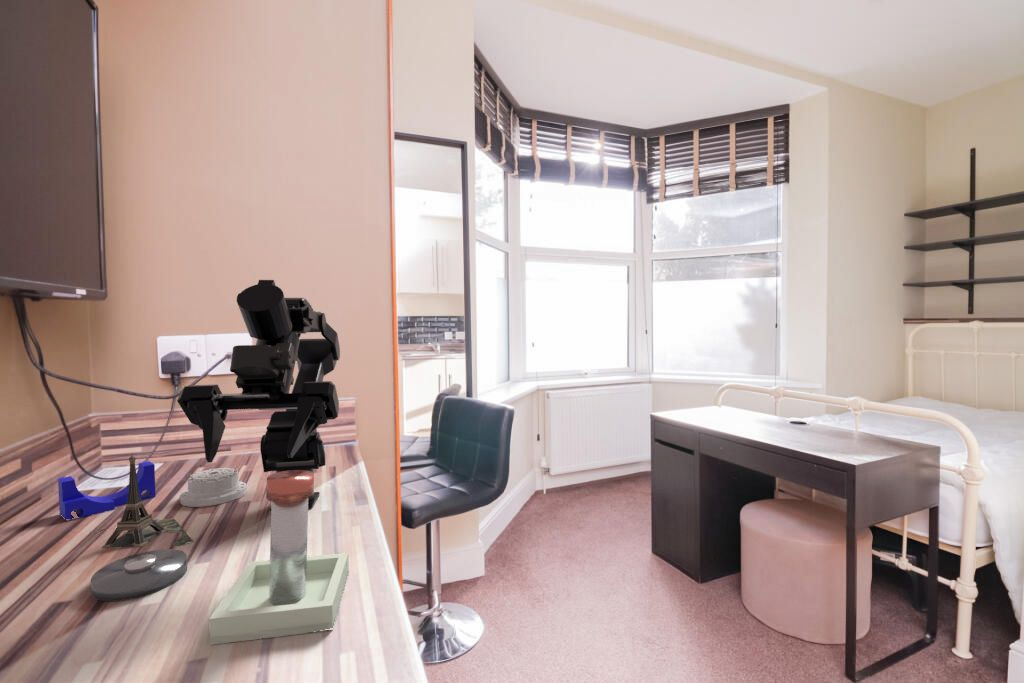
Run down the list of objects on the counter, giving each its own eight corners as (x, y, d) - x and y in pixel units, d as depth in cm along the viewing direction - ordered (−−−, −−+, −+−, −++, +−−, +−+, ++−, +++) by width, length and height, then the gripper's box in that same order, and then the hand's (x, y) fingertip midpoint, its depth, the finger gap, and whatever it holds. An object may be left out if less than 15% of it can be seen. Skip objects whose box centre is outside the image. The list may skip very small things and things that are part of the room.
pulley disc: (121, 564, 61) (120, 546, 61) (200, 557, 62) (199, 540, 62) (70, 605, 52) (69, 584, 52) (164, 596, 54) (163, 575, 54)
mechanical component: (221, 509, 79) (258, 488, 89) (220, 483, 79) (258, 465, 89) (165, 507, 80) (208, 487, 90) (164, 481, 80) (207, 464, 90)
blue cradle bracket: (65, 522, 74) (63, 484, 74) (59, 515, 77) (58, 478, 77) (158, 499, 84) (157, 465, 84) (150, 494, 87) (149, 461, 86)
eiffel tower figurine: (196, 545, 67) (192, 450, 66) (101, 574, 60) (96, 467, 59) (170, 516, 77) (167, 434, 77) (86, 537, 70) (82, 446, 69)
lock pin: (261, 591, 53) (264, 473, 52) (306, 580, 55) (309, 467, 55) (266, 613, 49) (269, 485, 48) (314, 600, 51) (318, 479, 51)
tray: (250, 583, 56) (249, 562, 56) (348, 573, 58) (348, 552, 58) (209, 644, 45) (209, 619, 45) (332, 630, 47) (332, 605, 47)
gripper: (181, 323, 62) (135, 426, 52) (333, 322, 66) (319, 418, 55) (209, 377, 70) (174, 475, 60) (343, 373, 74) (332, 466, 63)
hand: (249, 458), depth 59 cm, fingers open, 9 cm apart
